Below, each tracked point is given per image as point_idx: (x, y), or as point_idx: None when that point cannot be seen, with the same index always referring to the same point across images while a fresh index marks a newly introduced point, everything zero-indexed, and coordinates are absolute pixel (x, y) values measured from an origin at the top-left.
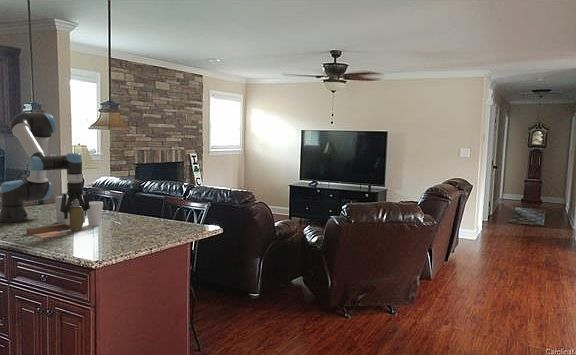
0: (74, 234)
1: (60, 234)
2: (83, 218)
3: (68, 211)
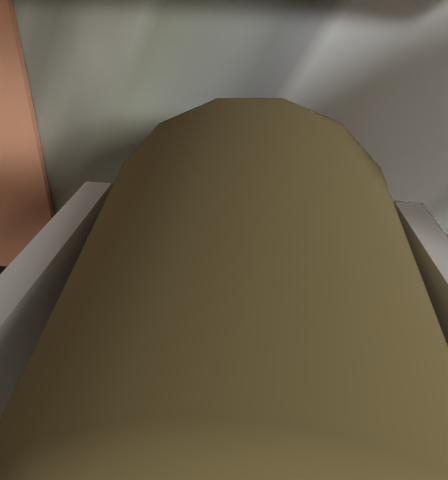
0: None
1: (5, 253)
2: None
3: (27, 368)
